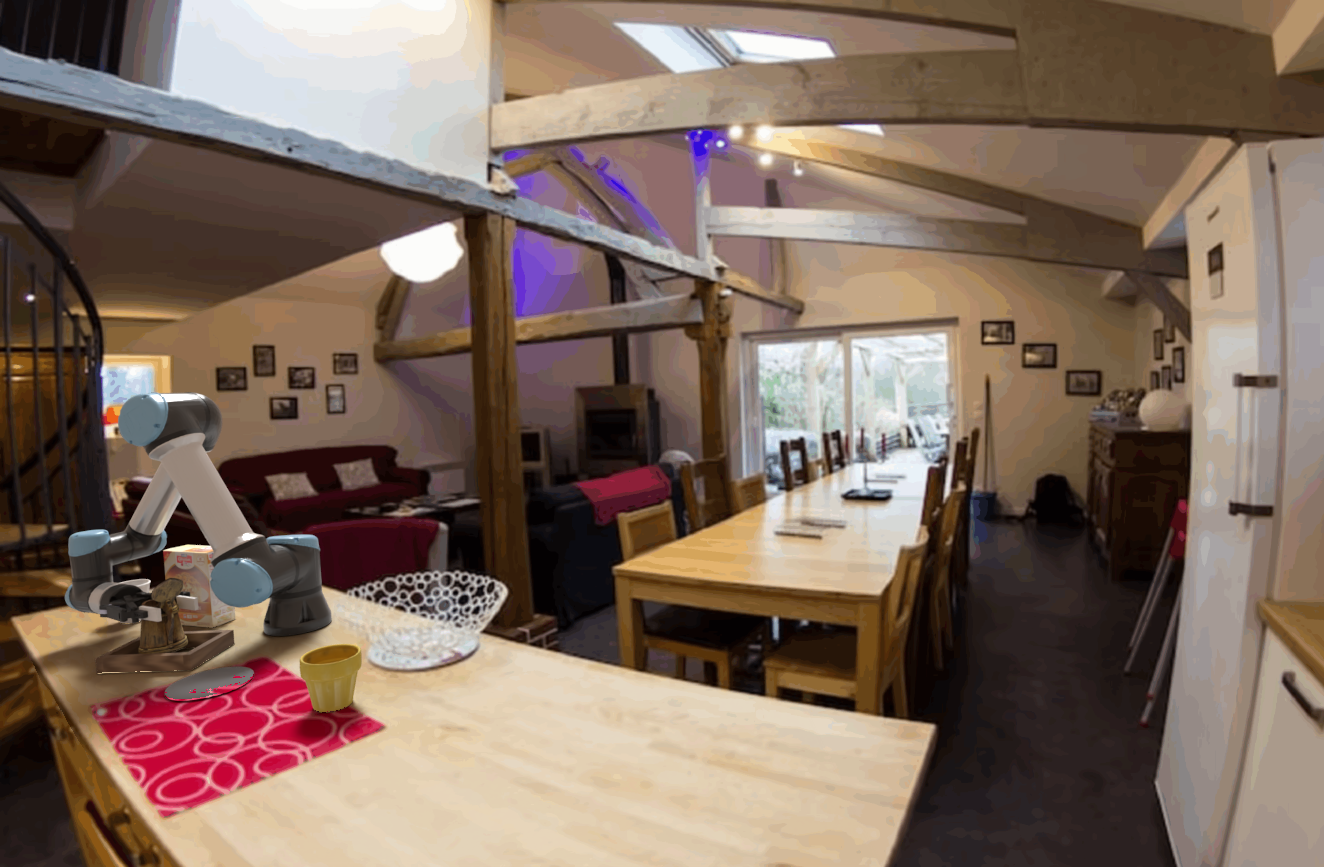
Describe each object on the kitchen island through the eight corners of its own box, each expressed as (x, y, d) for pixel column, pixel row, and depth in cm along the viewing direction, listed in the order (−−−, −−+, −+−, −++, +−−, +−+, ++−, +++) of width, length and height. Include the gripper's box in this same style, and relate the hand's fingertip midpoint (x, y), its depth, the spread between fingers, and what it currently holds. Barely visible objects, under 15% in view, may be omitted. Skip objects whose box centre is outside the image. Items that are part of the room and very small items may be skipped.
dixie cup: (122, 617, 183) (119, 581, 182) (159, 613, 185) (156, 577, 184) (107, 627, 175) (104, 589, 174) (146, 623, 177) (142, 585, 177)
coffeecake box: (167, 624, 176) (161, 550, 175) (193, 615, 183) (188, 543, 181) (211, 628, 172) (205, 552, 170) (237, 619, 178) (231, 545, 177)
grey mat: (269, 667, 145) (268, 665, 145) (224, 700, 130) (224, 697, 130) (198, 670, 145) (198, 667, 145) (145, 703, 130) (145, 700, 130)
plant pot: (374, 692, 131) (371, 642, 131) (345, 718, 121) (341, 664, 120) (324, 691, 132) (320, 642, 132) (290, 717, 122) (286, 664, 121)
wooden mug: (156, 666, 145) (145, 584, 143) (132, 652, 152) (121, 574, 150) (203, 650, 152) (193, 572, 150) (178, 638, 160) (168, 563, 158)
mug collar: (234, 644, 160) (233, 629, 160) (191, 670, 145) (189, 654, 145) (148, 647, 160) (147, 632, 159) (96, 674, 145) (95, 658, 144)
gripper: (165, 602, 168) (224, 611, 159) (68, 630, 150) (128, 642, 141) (162, 572, 168) (222, 580, 158) (64, 596, 150) (125, 606, 140)
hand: (178, 609), depth 149 cm, fingers closed on wooden mug, 7 cm apart
